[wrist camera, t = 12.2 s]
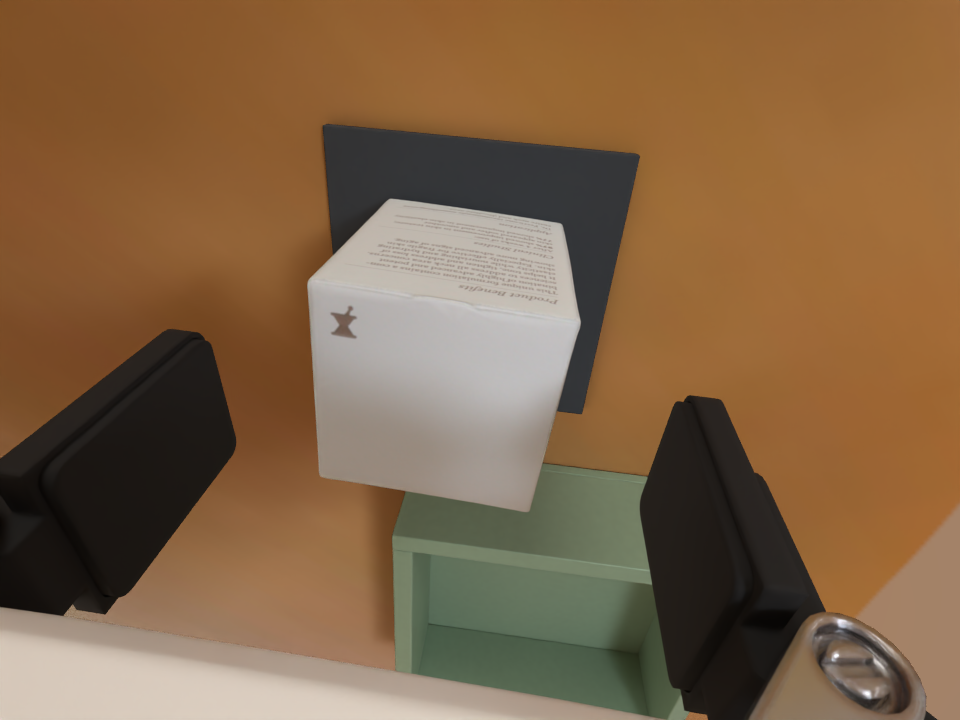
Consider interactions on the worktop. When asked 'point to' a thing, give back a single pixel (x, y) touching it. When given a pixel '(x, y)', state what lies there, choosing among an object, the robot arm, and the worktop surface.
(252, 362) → the worktop surface
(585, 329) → the mat
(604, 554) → the green square tray
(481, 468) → the product box
